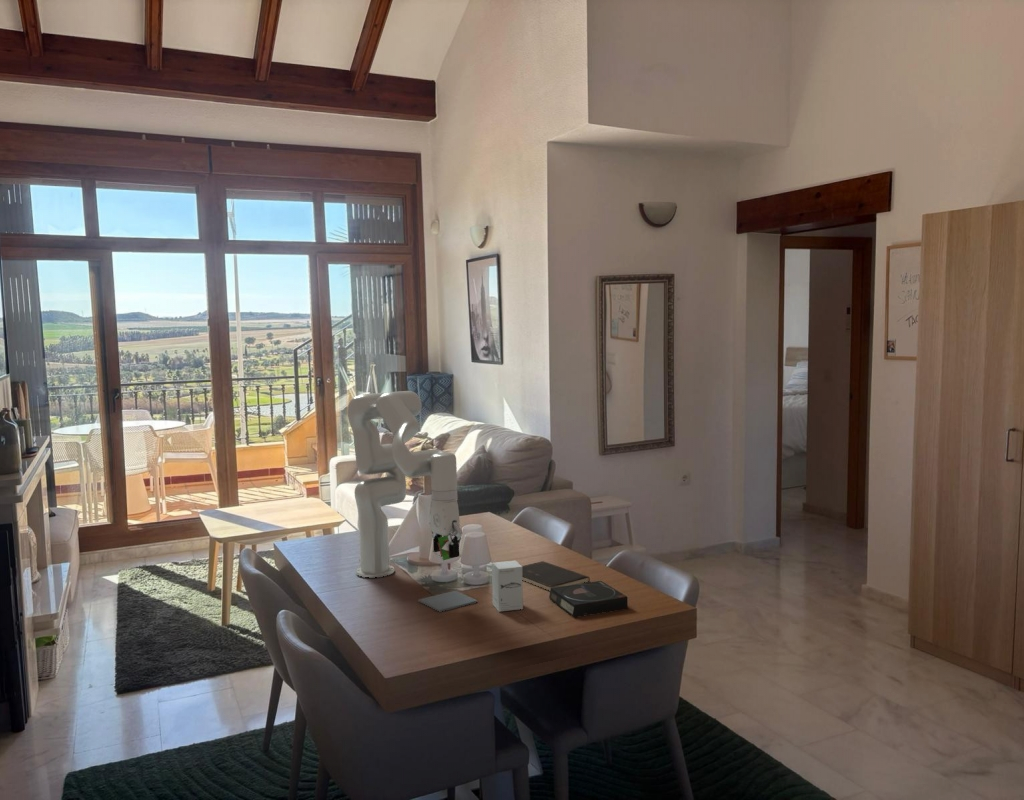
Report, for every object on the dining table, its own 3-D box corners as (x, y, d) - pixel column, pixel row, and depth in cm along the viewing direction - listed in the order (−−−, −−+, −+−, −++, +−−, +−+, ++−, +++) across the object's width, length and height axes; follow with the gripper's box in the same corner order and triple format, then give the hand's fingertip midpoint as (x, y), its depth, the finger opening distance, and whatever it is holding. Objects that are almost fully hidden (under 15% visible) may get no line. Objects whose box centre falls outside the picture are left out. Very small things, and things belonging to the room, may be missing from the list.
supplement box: (498, 612, 225) (497, 568, 224) (492, 604, 232) (491, 561, 231) (523, 609, 227) (522, 566, 226) (516, 601, 234) (515, 559, 233)
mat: (418, 601, 236) (418, 599, 236) (455, 592, 244) (455, 590, 243) (439, 612, 226) (439, 610, 226) (477, 602, 234) (477, 600, 234)
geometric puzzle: (425, 550, 235) (435, 531, 231) (443, 545, 240) (453, 527, 236) (438, 568, 231) (448, 549, 227) (456, 563, 236) (466, 544, 232)
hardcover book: (550, 593, 242) (550, 586, 242) (506, 576, 260) (506, 569, 260) (589, 583, 251) (589, 576, 251) (544, 567, 270) (544, 560, 270)
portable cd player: (549, 601, 235) (548, 588, 234) (601, 593, 241) (600, 580, 240) (572, 619, 219) (572, 605, 219) (627, 610, 225) (627, 596, 225)
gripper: (418, 492, 237) (420, 550, 239) (449, 501, 223) (451, 562, 225) (440, 489, 242) (441, 546, 243) (471, 497, 228) (473, 558, 229)
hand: (446, 553), depth 234 cm, fingers closed on geometric puzzle, 8 cm apart
